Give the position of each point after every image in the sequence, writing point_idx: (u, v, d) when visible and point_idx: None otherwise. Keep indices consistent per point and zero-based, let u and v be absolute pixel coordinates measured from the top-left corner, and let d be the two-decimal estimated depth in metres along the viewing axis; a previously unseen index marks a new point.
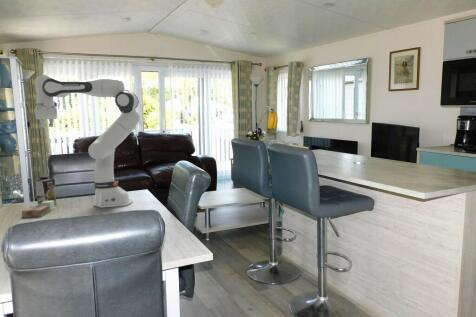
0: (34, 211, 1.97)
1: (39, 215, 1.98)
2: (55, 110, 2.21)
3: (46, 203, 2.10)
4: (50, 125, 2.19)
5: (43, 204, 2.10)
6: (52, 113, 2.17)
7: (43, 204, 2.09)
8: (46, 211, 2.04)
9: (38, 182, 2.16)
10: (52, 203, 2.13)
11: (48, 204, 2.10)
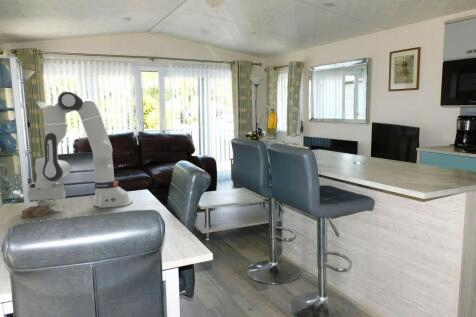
0: (34, 211, 1.97)
1: (39, 215, 1.98)
2: None
3: (46, 203, 2.10)
4: None
5: (43, 204, 2.09)
6: None
7: (43, 203, 2.09)
8: (46, 211, 2.04)
9: None
10: (52, 203, 2.13)
11: (48, 204, 2.10)
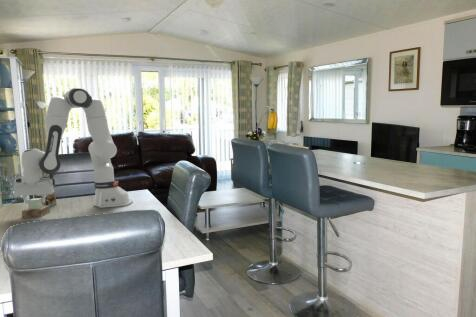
0: (34, 211, 1.97)
1: (39, 215, 1.98)
2: None
3: (33, 201, 1.99)
4: None
5: (30, 202, 1.99)
6: None
7: (30, 202, 1.99)
8: (46, 211, 2.04)
9: None
10: (40, 201, 2.02)
11: (35, 202, 1.99)
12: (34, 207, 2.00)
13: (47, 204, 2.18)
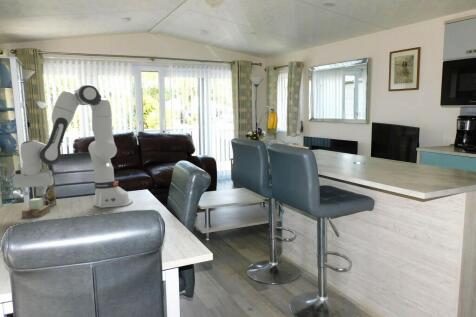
0: (34, 211, 1.97)
1: (39, 215, 1.98)
2: None
3: (34, 201, 2.00)
4: (27, 193, 2.01)
5: (31, 202, 1.99)
6: None
7: (30, 201, 1.99)
8: (46, 211, 2.04)
9: None
10: (40, 201, 2.03)
11: (36, 202, 2.00)
12: (35, 207, 2.00)
13: (47, 204, 2.18)
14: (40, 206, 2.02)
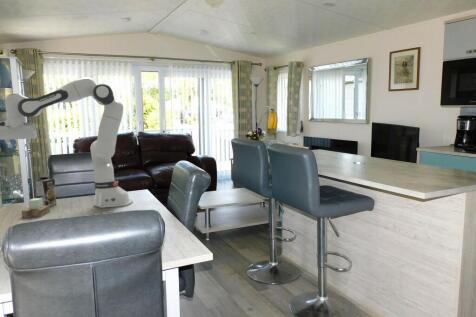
0: (34, 211, 1.97)
1: (39, 215, 1.98)
2: None
3: (34, 201, 1.99)
4: (11, 145, 2.07)
5: (31, 202, 1.99)
6: None
7: (30, 201, 1.99)
8: (46, 211, 2.04)
9: (38, 182, 2.16)
10: (40, 201, 2.02)
11: (36, 202, 1.99)
12: (35, 207, 2.00)
13: (47, 204, 2.18)
14: (40, 206, 2.02)
